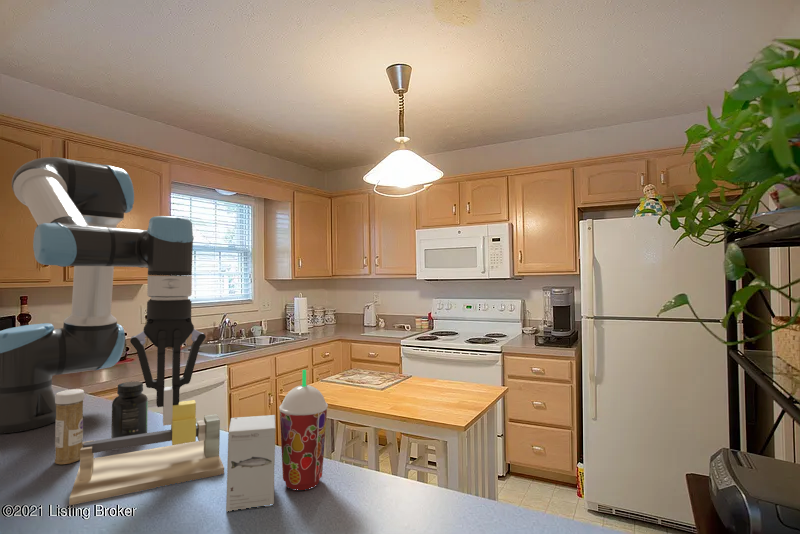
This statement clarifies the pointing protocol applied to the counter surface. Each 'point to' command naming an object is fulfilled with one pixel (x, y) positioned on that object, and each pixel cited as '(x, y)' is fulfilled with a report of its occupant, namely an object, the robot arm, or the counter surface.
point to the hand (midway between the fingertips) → (167, 422)
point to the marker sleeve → (184, 422)
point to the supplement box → (250, 462)
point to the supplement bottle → (129, 410)
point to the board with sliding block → (149, 466)
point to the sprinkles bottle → (68, 425)
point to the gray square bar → (130, 441)
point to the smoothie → (303, 435)
